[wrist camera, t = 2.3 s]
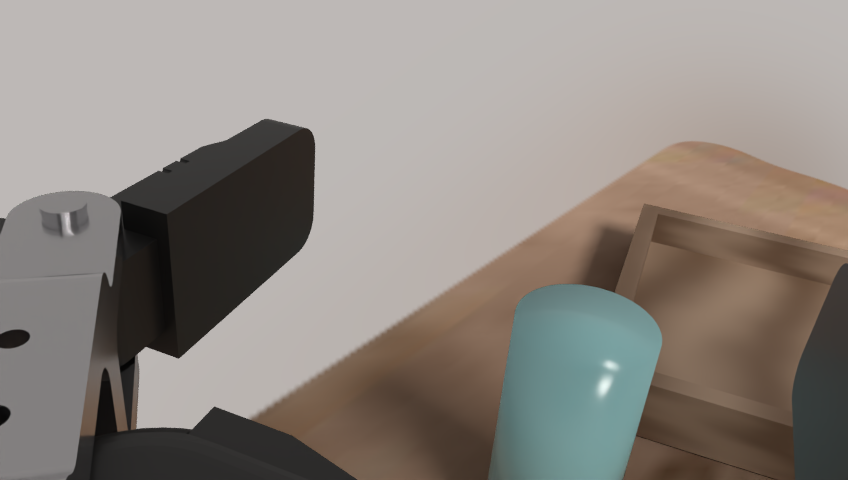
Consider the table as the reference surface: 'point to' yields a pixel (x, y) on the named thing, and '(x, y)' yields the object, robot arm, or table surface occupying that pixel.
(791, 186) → the table surface
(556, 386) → the teal canister
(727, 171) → the table surface
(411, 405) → the table surface
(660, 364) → the walnut tray
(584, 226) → the table surface
